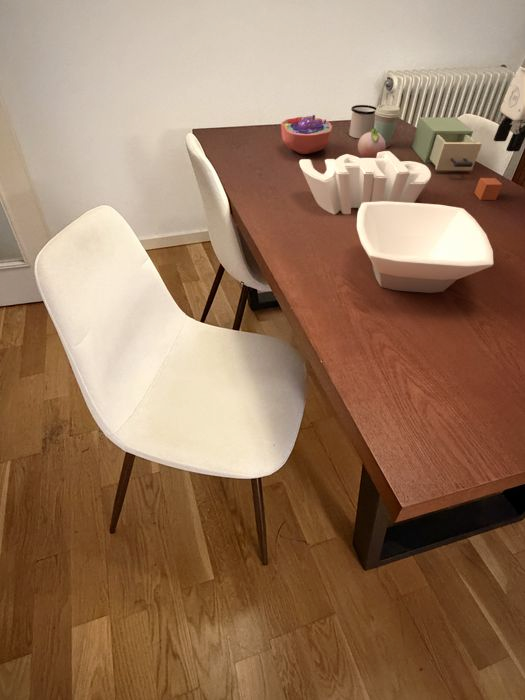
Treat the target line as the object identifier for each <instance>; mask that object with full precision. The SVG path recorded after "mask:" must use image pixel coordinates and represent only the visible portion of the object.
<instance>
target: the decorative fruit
mask: <svg viewBox="0 0 525 700" xmlns="http://www.w3.org/2000/svg"><path fill="white" fill-rule="evenodd" d="M382 151H386V148H385V140H384V138H383V137H382V136H381V134H380V133H378V131H377V130H376V129H375V130H374V129H373V130H371V132H368V133H365V134H364V135H363V136H362V137H361V138H360V139H358V143H357V152H358V154H359V155H360V156H361V158H376V157H377V153H378V152H382Z"/></svg>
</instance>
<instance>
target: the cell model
mask: <svg viewBox="0 0 525 700" xmlns="http://www.w3.org/2000/svg"><path fill="white" fill-rule="evenodd" d="M332 128H333V125H332V123H331V122H329V121H327V119H322V118H319V117H316V115H315V114H312V115H306V116H298V117H293V118H287V119H285V120H283V121H281V122H280V133H281V139H282V142H283V144H284V145H285V146H286V148H288V149H289V150H291V151H293V152H296V153H297V154H300V155H309V154H314V153H317V152H319V151H321V150H323V149H324V148H325V147H326V146H327V145H328V143H329V141H330V135H331V132H332Z"/></svg>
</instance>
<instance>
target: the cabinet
mask: <svg viewBox="0 0 525 700" xmlns="http://www.w3.org/2000/svg"><path fill="white" fill-rule="evenodd" d="M473 133H474V130H472V129H471V127H469V126H468V125H467V124H465V123H464V122H463V121H462V120H460V119H459V118H458V117H454V116H453V117H449V116H447V117H443V116H436V117H435V116H432V117H431V116H420V117H419V119H418V122H417V125H416V129H415V133H414V138H413V141H412V144H411V148H412V149H413V151H414V152H415V153H416V154H417V156H418V157H419V158H420V159H421V160H422V161H423V164H427V163H428V164H433V162H432V161H431V160H430V159H429V158H428V157H429V153H430V150H431V147H432V143H433V140H434V136H435V134H467V135H468V136H470V137H471V138H472V135H473Z"/></svg>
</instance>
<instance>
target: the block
mask: <svg viewBox="0 0 525 700" xmlns="http://www.w3.org/2000/svg"><path fill="white" fill-rule="evenodd" d="M502 186H503V183H502V182H500V181H499V180H498V179H497V178H496V177H480V178H479V179H478V182H477V185H476V188H475V190H474V193H473V194H474V195H475V196H476V197H477V198H478V199H479V200H480V201H496V200H497V198H498V196H499V194H500V192H501V189H502Z"/></svg>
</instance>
